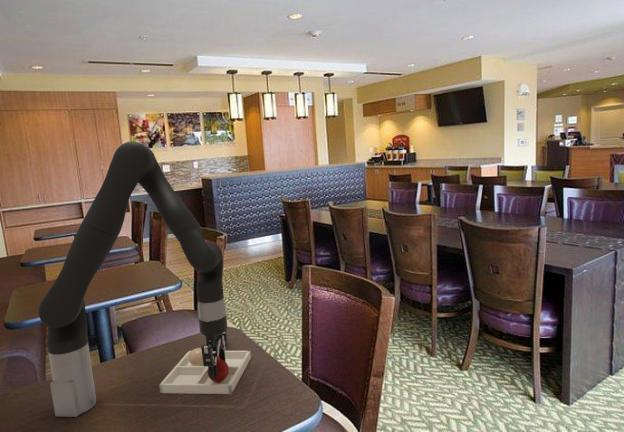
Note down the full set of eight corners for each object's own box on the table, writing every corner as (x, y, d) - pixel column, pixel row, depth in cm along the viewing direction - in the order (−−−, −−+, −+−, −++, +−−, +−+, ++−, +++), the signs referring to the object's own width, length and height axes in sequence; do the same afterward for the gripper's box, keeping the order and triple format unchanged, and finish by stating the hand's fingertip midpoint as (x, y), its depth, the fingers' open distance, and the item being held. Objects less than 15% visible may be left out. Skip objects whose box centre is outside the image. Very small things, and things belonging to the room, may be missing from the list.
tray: (231, 396, 116) (230, 385, 115) (160, 395, 118) (159, 384, 118) (251, 360, 136) (250, 350, 135) (189, 360, 138) (188, 350, 138)
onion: (224, 389, 118) (222, 362, 117) (205, 387, 119) (202, 361, 118) (232, 377, 124) (230, 352, 123) (214, 376, 125) (211, 351, 124)
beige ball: (204, 370, 129) (202, 353, 128) (186, 370, 130) (185, 353, 129) (211, 361, 135) (209, 344, 134) (194, 361, 135) (192, 344, 135)
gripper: (208, 305, 126) (213, 358, 128) (189, 325, 112) (195, 384, 114) (233, 305, 125) (237, 358, 127) (216, 324, 111) (222, 384, 113)
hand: (217, 370), depth 121 cm, fingers open, 6 cm apart
